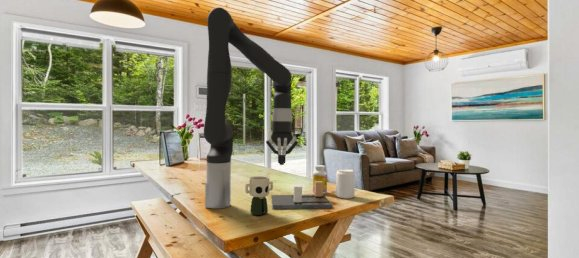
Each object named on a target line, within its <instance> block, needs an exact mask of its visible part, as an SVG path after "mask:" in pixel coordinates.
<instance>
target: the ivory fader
mask: <svg viewBox="0 0 579 258" xmlns="http://www.w3.org/2000/svg"><path fill="white" fill-rule="evenodd" d="M293 195H294V202H302V195H303V186H302V185H293Z"/></svg>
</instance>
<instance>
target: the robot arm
mask: <svg viewBox="0 0 579 258" xmlns="http://www.w3.org/2000/svg"><path fill="white" fill-rule="evenodd" d="M231 15H232V14H230V13H229V11H227V9H225V8H223V7H215V8H212V10H210V12H209V13H208V16H207V20H206V21H207V22H206V24H207V33H208V53H207V71H206V108H205V109H206V111H205V120H204V127H203V136H204V139H205V140H206V142H207V143H208V145H209V144H210V149H209V152H208V153H207V155H206V182H205V185H204V187H205V188H204V191H205V192H204V194H205V195H204V199H205V200H204V201H205V202H204V208H205V209H206V208H209V209H225V208H229V207H230V206H231V202H232V200H231V193H232V191H231V189H232V188H231V183H232V182H231V181H232V178H231V177H232V171H231V168H232V156H233V153H234V152H233V149H234V130H233V127H232V125H231V124H230V123H229V122H227V121H226V107H227V103H228V99H229V97H230V93H231V89H232V82H233V81H232V77H233V76H232V75H233V71H232V62H231V57H230V56H231V55H230V49H229V48H230V47H229V44H230V45H232V46H233V48H235V49H236V50H238V51H239V52H240V53H241V54H242V55H243V56H244V57H245V58H246V59H247V61H249V62H250V63H251V64H252V65H254V66H255V67H256V68H257V69H258V70H259V71H260V72H262V73H264V74H265V75H266V76H268V77H269V78H270V80H272V81H273V86H274V89H273V90H274V91H273V92H274V93H273V102H272V104H273V107H272V108H273V109H272V117H271V118H272V125H271V126H272V128H271V129H272V131H271V132H272V133H271V136H270V138H269V139H268V140H266V141H265V143H266V145H267V146H268V147H269V148H270V150H271V151H272V153H273V154H275V155H277V164H279V165H280V166H284V165H285V163H286V155H289V154H291V152H292V151H293V150H294V148H296V146H297V145H298V144H299V142H298V141H297V140H296V139H294V136H293V132H292V131H293V130H292V128H293V127H292V125H293V122H292V121H293V114H292V113H293V112H292V96H291V93H292V79H293V75H292V73H291V71H290V69H288V68H287V67H286V66H285V65H284V64H282V63H281V62H279V61H278V60H276V59H275V58H274V56H272V55H271V54H270V53H269V52H268V51H267V50H265V49H264V47H261V45H259V44H258V43H256V42H255V41H253V40H252V39H251V38H249V37H248V36H247V35H246V34H245V33H244V32H243V31H242V30H241V29H240V27H238V26H237V24H236V23H235V21H234V19H233V18H232V16H231ZM273 143H274V144H275V146H277V149H276V148H275V147H274V146H273ZM290 143H291V145H289V144H290ZM287 146H289V147H288V149H287Z"/></svg>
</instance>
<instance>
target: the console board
mask: <svg viewBox="0 0 579 258" xmlns="http://www.w3.org/2000/svg"><path fill="white" fill-rule="evenodd" d="M270 199H272V200H271V208H272V210H296V209H297V210H303V209H304V210H305V209H306V210H310V209H313V210H314V209H333V204H332V202H330V200H329V199H328V198H327V197H326V195H325V194H323V196H315V194H302V202H294V194H271V198H270Z"/></svg>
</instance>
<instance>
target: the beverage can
mask: <svg viewBox="0 0 579 258" xmlns="http://www.w3.org/2000/svg"><path fill="white" fill-rule="evenodd" d="M355 176H356V174H355V171H354V169H350V168H340V169H337V170H336V176H335V181H336V182H335V183H336V184H335V185H336V188H335V196H336V197H338V198H340V199H342V200H343V199H345V200H348V199H352V198H354V197H355V185H356V183H355V182H356V181H355V180H356V177H355Z"/></svg>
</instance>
